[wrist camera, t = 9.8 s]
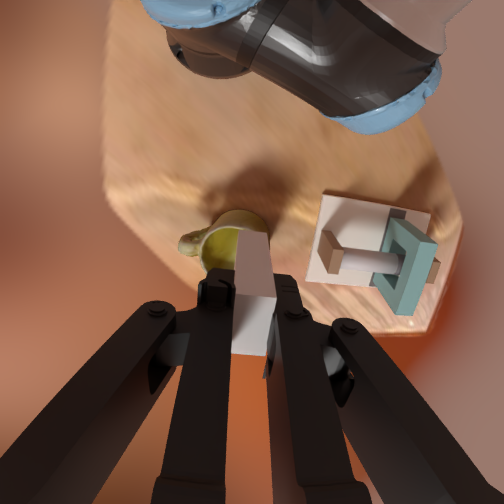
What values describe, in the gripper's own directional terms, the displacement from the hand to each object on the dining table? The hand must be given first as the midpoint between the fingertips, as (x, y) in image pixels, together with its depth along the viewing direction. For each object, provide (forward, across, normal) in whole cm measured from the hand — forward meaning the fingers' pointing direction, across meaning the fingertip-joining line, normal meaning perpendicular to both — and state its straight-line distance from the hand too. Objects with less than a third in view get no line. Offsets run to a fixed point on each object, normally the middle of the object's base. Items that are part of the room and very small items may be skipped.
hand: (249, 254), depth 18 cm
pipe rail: (+29, +20, -9) cm, 37 cm away
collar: (+28, +24, -9) cm, 38 cm away
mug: (+30, -2, -10) cm, 31 cm away
